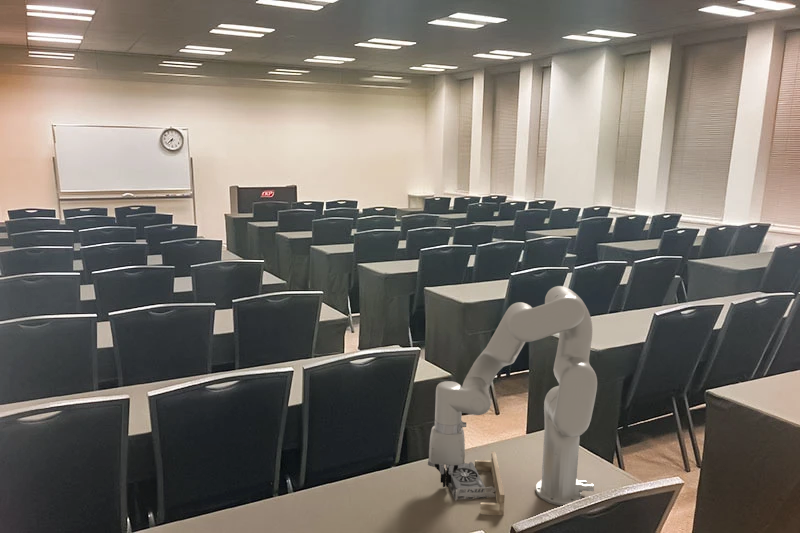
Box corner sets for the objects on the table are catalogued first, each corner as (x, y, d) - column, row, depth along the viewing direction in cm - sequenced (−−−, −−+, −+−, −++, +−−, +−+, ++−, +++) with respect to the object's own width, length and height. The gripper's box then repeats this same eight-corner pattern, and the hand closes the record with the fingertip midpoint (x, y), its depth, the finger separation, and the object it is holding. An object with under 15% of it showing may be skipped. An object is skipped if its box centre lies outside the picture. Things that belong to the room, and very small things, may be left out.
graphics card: (497, 488, 158) (455, 490, 157) (496, 501, 159) (454, 503, 158) (481, 459, 175) (443, 460, 173) (480, 470, 176) (442, 471, 174)
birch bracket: (494, 469, 174) (495, 451, 173) (503, 515, 152) (504, 494, 150) (474, 468, 174) (475, 450, 173) (480, 514, 152) (481, 493, 151)
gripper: (473, 420, 163) (470, 478, 167) (421, 418, 164) (420, 476, 168) (475, 432, 156) (472, 493, 159) (421, 430, 157) (419, 490, 160)
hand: (445, 484), depth 163 cm, fingers closed
